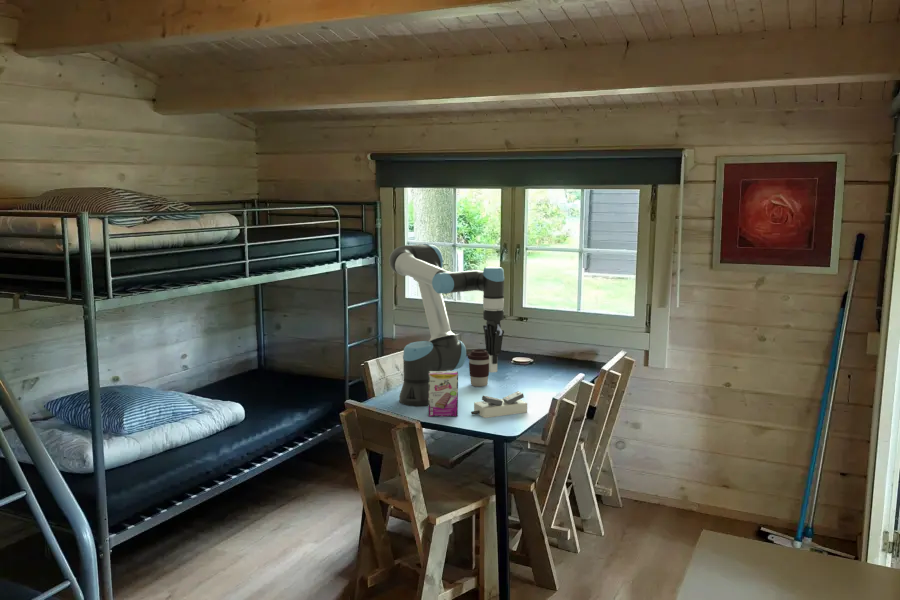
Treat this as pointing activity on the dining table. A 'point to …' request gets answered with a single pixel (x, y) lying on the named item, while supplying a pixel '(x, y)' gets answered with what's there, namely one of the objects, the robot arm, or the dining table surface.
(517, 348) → the dining table surface
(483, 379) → the coffee cup
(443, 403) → the candy bar box
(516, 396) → the rocker
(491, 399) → the rocker
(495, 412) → the power strip
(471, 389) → the dining table surface
